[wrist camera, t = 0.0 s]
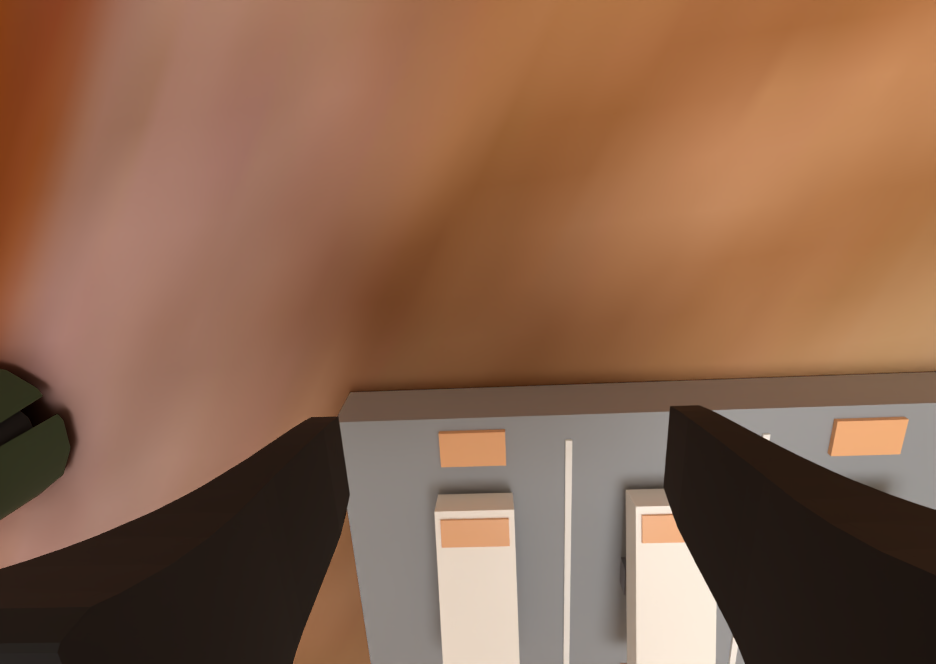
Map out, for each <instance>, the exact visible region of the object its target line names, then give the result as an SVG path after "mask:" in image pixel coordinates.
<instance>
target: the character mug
mask: <svg viewBox="0 0 936 664" xmlns="http://www.w3.org/2000/svg"><path fill="white" fill-rule="evenodd" d="M42 396H43V395H42V394H41V393H40V391H39V390H38V389H37V388H36V387H34V386H32V385H31V384H29V383H27V382H26V381H24V380H22V379H21V378H19V377H17V376H16V375H14V374H12V373H11V372H9V371H7V370H3V369H0V520H1V519H2V518H4V517H6V516H7V515H9V514H10V513H12V512H13V511H15V510H16V509H18V508H19V507H21V506H22V505H24V504H25V503H27V502H29V501H30V500H32V499H33V498H35V497H36V496H38V495H39V494H40V493H42V492H43V491H44V490H45V489H46V488H48V487H49V486H50V485H51V484H52V483H54V482H55V481H56V480H57V479H58V478H59V477H61V476H62V475H63V474H64V470H65V467H66V463H67V459H68V456H69V452H70V449H71V448H70V444H69V440H68V436H67V432H66V428H65V425H64V421H63V419H62V418H61V417H60V416H59V415H58V414H56V415H54V416H53V417H51V418H49V419H47V420H46V421H44V422H42V423H41V424H39V425H37V426H35V427H34V428H33V426H32V424H31V422H30V420H29V418H28V417H27V416H26V415H25V414H23V413H22V412H21V411H20V410H22V409H23V408H25V407H26V406H28V405H30V404H31V403H33V402H34V401H36V400H38V399H39V398H41V397H42Z"/></svg>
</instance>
